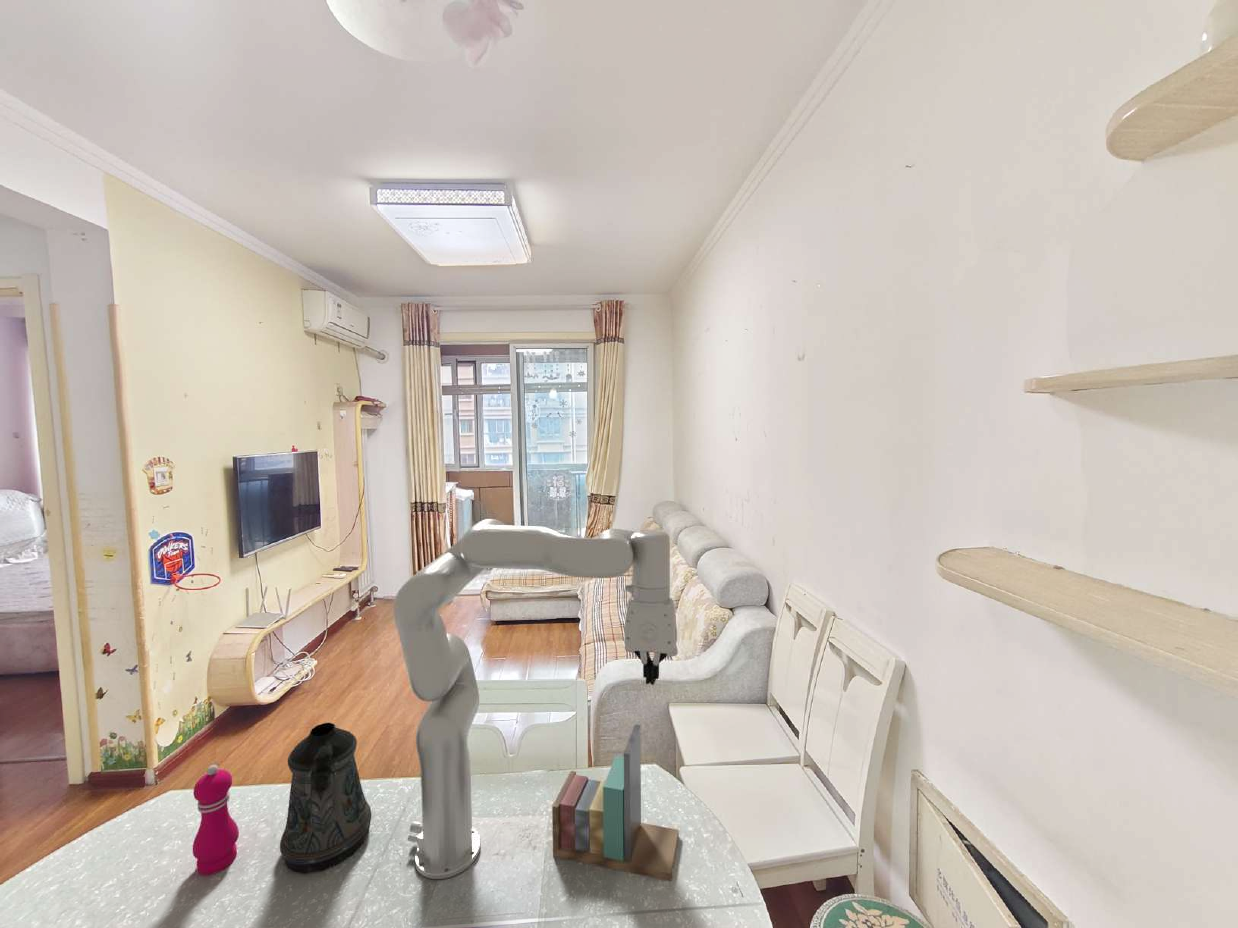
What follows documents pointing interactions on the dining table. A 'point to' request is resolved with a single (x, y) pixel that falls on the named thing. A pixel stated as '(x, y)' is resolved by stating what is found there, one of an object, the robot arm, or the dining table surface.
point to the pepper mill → (214, 822)
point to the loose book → (614, 811)
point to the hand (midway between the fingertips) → (651, 680)
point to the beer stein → (324, 802)
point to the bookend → (632, 791)
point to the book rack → (584, 832)
